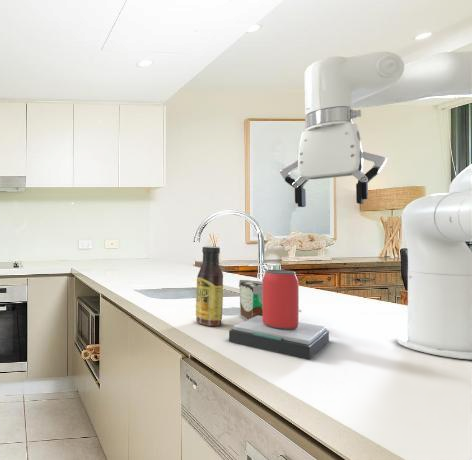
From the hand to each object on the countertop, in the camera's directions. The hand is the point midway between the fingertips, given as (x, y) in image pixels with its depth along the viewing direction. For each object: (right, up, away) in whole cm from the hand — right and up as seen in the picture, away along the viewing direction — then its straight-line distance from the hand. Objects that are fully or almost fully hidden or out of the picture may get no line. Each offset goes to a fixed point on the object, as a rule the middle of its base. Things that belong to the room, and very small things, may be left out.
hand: (329, 205), depth 73 cm
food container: (-2, -30, +23) cm, 37 cm away
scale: (-8, -29, +4) cm, 30 cm away
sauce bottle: (-17, -29, +18) cm, 38 cm away
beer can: (-7, -26, +4) cm, 28 cm away
